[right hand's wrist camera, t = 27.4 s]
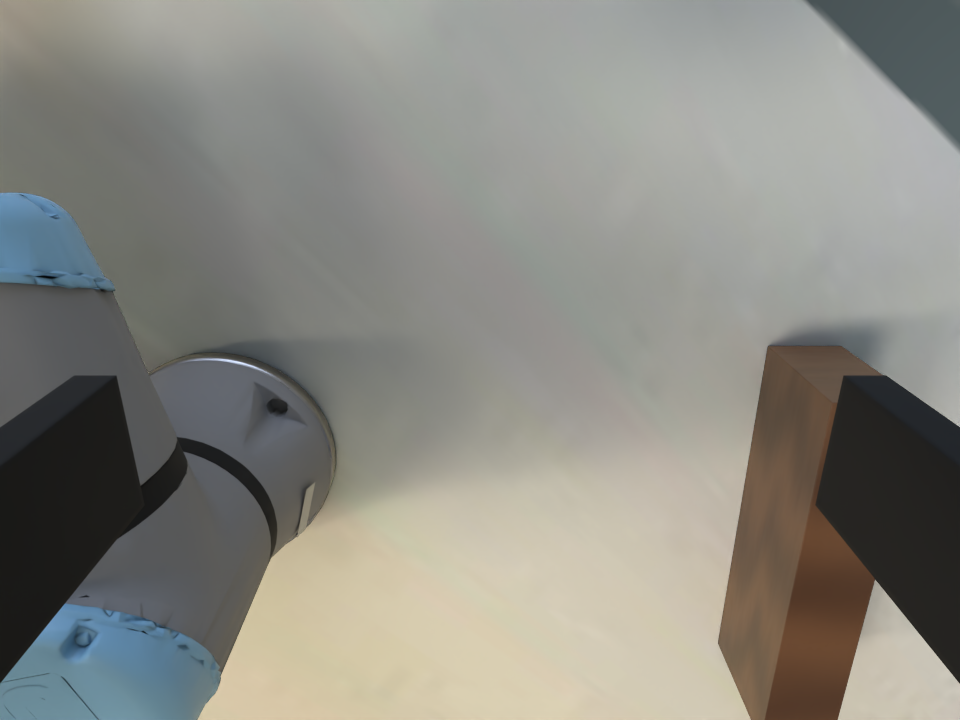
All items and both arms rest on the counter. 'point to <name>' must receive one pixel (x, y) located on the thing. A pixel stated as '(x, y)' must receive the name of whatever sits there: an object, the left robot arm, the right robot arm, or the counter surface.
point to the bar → (793, 550)
